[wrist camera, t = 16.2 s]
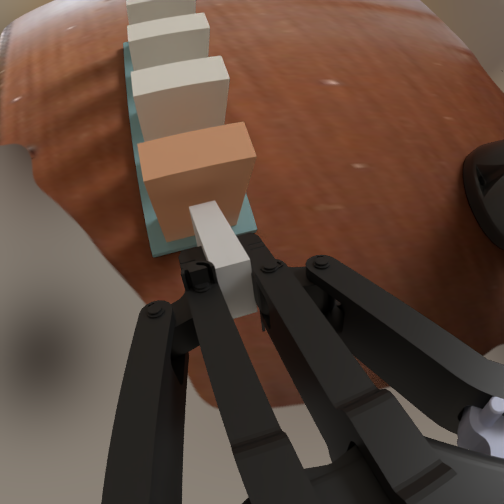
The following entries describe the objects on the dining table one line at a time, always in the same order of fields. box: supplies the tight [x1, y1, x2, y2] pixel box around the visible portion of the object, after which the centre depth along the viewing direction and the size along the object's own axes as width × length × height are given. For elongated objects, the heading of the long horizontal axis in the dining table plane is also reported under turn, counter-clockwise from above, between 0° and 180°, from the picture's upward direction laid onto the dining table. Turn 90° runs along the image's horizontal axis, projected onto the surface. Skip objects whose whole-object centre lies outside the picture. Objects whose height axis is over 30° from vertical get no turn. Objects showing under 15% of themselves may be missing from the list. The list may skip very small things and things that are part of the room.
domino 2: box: [127, 13, 210, 71], centre depth 24 cm, size 2×6×11 cm, turn 107°
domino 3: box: [131, 56, 230, 142], centre depth 23 cm, size 2×6×11 cm, turn 106°
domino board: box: [123, 42, 257, 257], centre depth 30 cm, size 28×9×1 cm, turn 16°
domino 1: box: [126, 0, 196, 25], centre depth 25 cm, size 2×6×11 cm, turn 106°
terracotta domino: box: [137, 122, 256, 242], centre depth 21 cm, size 2×6×11 cm, turn 107°
